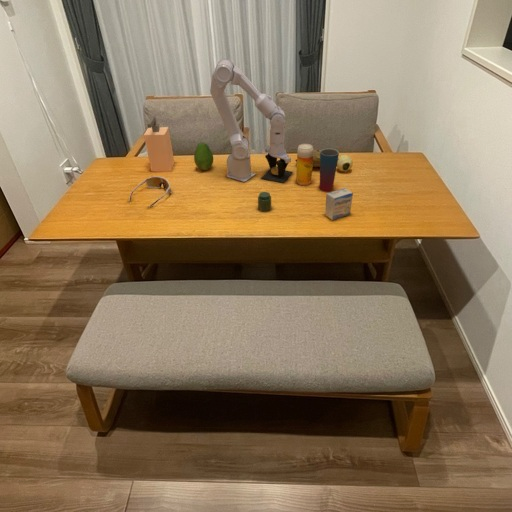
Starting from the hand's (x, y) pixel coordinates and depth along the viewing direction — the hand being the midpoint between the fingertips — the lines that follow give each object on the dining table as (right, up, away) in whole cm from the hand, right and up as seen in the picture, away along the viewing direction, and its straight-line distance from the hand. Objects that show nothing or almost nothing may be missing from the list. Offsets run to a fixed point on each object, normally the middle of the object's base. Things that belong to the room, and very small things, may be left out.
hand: (277, 173), depth 159 cm
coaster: (0, -1, +1) cm, 1 cm away
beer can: (+10, -5, -4) cm, 12 cm away
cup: (+19, -8, -9) cm, 22 cm away
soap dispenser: (-50, +4, +9) cm, 51 cm away
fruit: (-31, +3, +8) cm, 32 cm away
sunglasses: (-49, -11, -10) cm, 51 cm away
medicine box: (+20, -20, -24) cm, 37 cm away
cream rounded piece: (+28, +2, +3) cm, 28 cm away
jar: (-6, -17, -19) cm, 26 cm away
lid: (0, +1, -1) cm, 2 cm away
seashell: (+16, +4, +7) cm, 18 cm away
